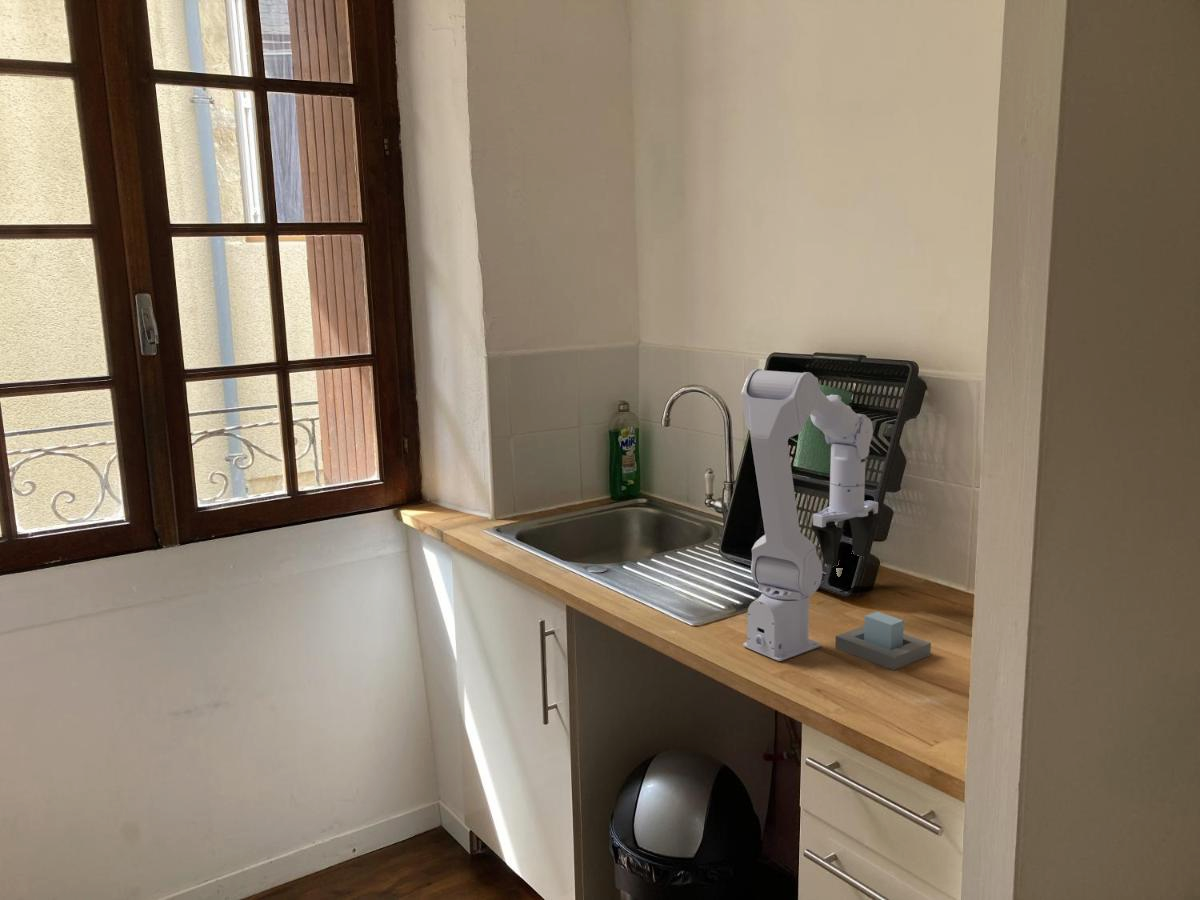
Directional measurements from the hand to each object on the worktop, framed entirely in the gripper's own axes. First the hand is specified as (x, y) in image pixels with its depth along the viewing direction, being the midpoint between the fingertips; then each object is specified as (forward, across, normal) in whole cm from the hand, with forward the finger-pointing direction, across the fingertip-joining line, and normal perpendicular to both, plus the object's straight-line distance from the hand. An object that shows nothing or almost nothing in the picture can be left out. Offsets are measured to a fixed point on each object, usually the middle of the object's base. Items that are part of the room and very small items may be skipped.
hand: (844, 559), depth 171 cm
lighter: (+9, +10, +7) cm, 15 cm away
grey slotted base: (+9, -10, -16) cm, 21 cm away
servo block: (+8, -10, -16) cm, 21 cm away
